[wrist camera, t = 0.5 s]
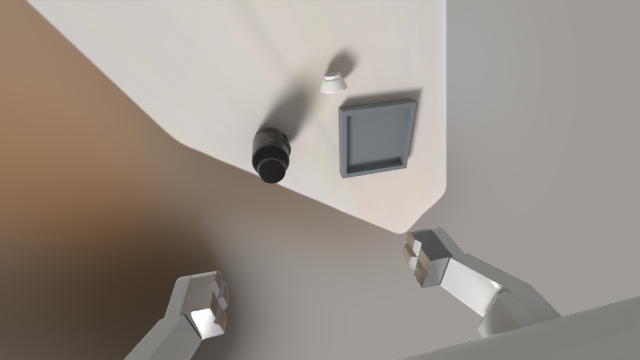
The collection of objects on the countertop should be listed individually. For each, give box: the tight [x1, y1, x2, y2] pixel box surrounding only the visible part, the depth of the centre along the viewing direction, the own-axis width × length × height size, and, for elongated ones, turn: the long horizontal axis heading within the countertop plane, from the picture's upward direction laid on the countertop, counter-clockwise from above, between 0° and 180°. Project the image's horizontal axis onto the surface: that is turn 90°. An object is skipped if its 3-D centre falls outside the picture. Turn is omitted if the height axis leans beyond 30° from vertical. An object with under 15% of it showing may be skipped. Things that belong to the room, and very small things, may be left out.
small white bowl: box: [320, 72, 347, 94], centre depth 46 cm, size 5×3×5 cm, turn 98°
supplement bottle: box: [252, 128, 289, 183], centre depth 48 cm, size 7×7×12 cm
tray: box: [339, 99, 417, 178], centre depth 56 cm, size 16×16×2 cm
